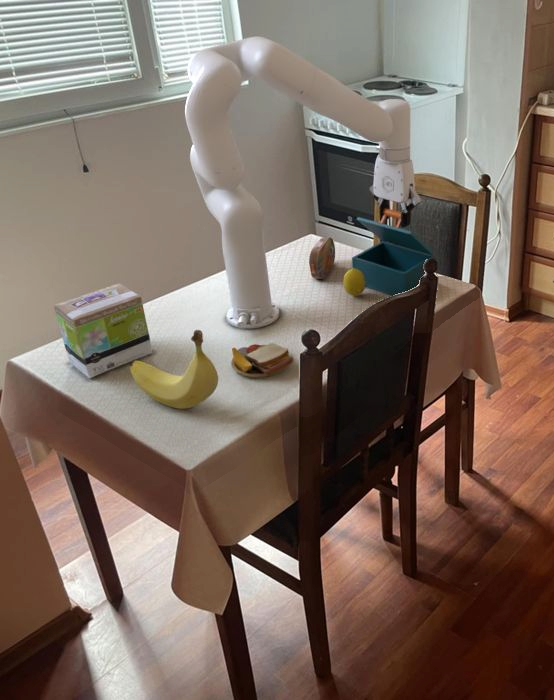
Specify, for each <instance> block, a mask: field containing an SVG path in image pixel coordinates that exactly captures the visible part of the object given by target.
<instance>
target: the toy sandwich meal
mask: <svg viewBox="0 0 554 700" xmlns="http://www.w3.org/2000/svg"><path fill="white" fill-rule="evenodd" d="M231 351H232V356H233V357H232V359H231V362H230V365H231V368H232V369H233V371H235V372H236V373H237V374H240V375H242V376H243V377H247V378H252V379H256V378H257V379H258V378H259V379H260V378H267V377H270V376H273V375H275V374H277V373H279V372H280V371H282V370H284V369H285V368H287V367H288V366H290V365H292V363H294V358H293V356H290V352H289V351H290V350H289V348H287V347H284V346H280V345H278V344H276V343H274V342H271V343H268V344H258V343H257V344H256V343H255V344H251V345H249V346H248V347H247V346H242V347H239V348H238V349H237V348H235V347H232V348H231Z"/></svg>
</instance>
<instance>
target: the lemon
mask: <svg viewBox="0 0 554 700" xmlns="http://www.w3.org/2000/svg"><path fill="white" fill-rule="evenodd" d="M342 281H343V288H344V290H345V292H346V293H347V294H348V295H350V296H353V297H354V298H356V297H357V296H361V294H362V293H363V292H364V290H365V288H366V287H365V278H364V275H363V273H362V272H361V271H359V270H358V269H355V268H351V269H348V270H347V271H346V273H345V274H344V276H343V280H342Z"/></svg>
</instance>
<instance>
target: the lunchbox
mask: <svg viewBox="0 0 554 700" xmlns="http://www.w3.org/2000/svg"><path fill="white" fill-rule="evenodd" d="M429 258H432V259H434V260H435V256H434V255H429V254H426V253H422V252H419V251H415V250H412V249H408V248H405V247H402V246H398V245H395V244H391V243H388V242H384V241H382V240H381V241H379V242H378V243H376V244H374V245H373V246H371V247H369V248H367V249H365V250H363V251H362V252H360V253H357V254H356V255H354V256H352V257H351V265H352V268H355V269H358V270H359V271H361V272H362V273H363V275H364V278H365V288H368V289H371V290H374V291H377V292H380V293H384V294H386V295H390V296H392V295H395V294H398V293H402V292H405V291H408V290H410V289H412V288H414V287H416V286H417V285H418V284H419V280H420V278H421V277H422V276H423V275H424V274H425V272H424V269H423V264H424V262H425V260H426V259H429ZM352 268H351V269H352Z"/></svg>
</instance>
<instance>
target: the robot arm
mask: <svg viewBox="0 0 554 700" xmlns="http://www.w3.org/2000/svg"><path fill="white" fill-rule="evenodd" d="M187 74H188V77H189V79H190V81H191V83H192V86H191V88H190V90H189V92H188V95H187V98H186V102H185V109H184V114H185V115H184V116H185V123H186V126H187V129H188V132H189V135H190V139H191V143H192V146H191V149H190V153H189V161H190V165H191V169H192V172H193V174H194V177H195V180H196V183H197V184H198V188H199V190H200V193H201V195H202V197H203V200H204V203H205V205H206V207H207V209H208V211H209V212H210V213H211V215H212V216H213V217H214V219H216V221H217V222H218V224H219V225H220V229H221V247H222V254H223V261H224V266H225V267H224V268H225V274H226V280H227V287H228V292H229V298H230V304H231V307H230V308H229V309H228V311H227V312H226V320H227V322H228V324H230V325H231V326H233V327H235V328H239V329H241V330H242V329H258V328H259V329H260V328H262V327H265V326H269V325H271V324H273V323H274V322H275V321H276V320H277V319H278V318H279V316H280V308H279V307H278V306H277V304H275V303H273V302H272V294H271V288H270V286H271V285H270V279H269V271H268V263H267V254H266V247H265V217H264V216H265V215H264V211H263V208H262V206H261V204H260V203H259V202H258V200H257V199H256V197H254V196H253V195H252V194H251V192H249V191H248V190H246V189H245V188H244V186H243V183H242V182H243V179H244V176H245V166H244V161H243V159H242V156H241V154H240V151H239V148H238V145H237V142H236V140H235V137H234V134H233V131H232V127H231V124H230V118H229V112H230V107H231V105H232V103H233V102H234V100H235V98H236V97H237V96H238V94H239V92H240V91H241V88H242V84H243V83H244V82H248V81H250V80H253V79H257V80H258V81H259V82H262V84H265V85H267V86H268V87H270V88H272V89H273V90H275V91H277V92H279V93H280V94H282V95H284V96H286V97H288V98H290V99H291V100H293V101H294V102H296V103H298V104H299V105H301V106H303V107H304V108H307V109H308V110H311V111H312V112H314V113H316V114H318V115H320V116H323V117H325V118H326V119H330V120H332V121H334V122H336V123H338V124H340V125H341V126H344V127H345V128H347V129H348V130H350V131H351V132H352V133H354V134H356V135H358V136H360V137H362V138H363V139H365V140H368V142H371V143H378V144H377V145H376V151H378V156H377V157H376V159H375V164H374V172H373V184H372V185H371V186H369V191H370V193H371V195H373V198H374V200H375V201H376V205H377V206H378V209H379V213H378V214H379V222H381V220H382V217H383V215H384V214H383V211H384V209H385V208H387V209H390V204H389V203H388V201H390V202H394V203H399V204H400V207H401V210H402V211H401V212H402V213H401V226H400V228H401V229H403V228H404V229H405V228H406V227H409V226H410V225H411V222H412V211H413V210H414V209H415V208H416V207H417V206H418V205H419V204H420V203H421V202H422V199H421V197H420V195H419V194H418V193H417V191H416V182H415V171H414V164H413V160H412V159H411V105H410V103H409V102H408V101H407V100H404V99H399V98H389V99H385V100H382V101H381V100H379V101H378V100H377V101H376V100H370V99H368V98H366V97H364V96H362V94H359V93H358V92H356V91H355V90H352V89H351V88H350V87H348V86H346V85H345V84H343V83H342V82H341V81H339V80H338V79H337V78H335V77H333V76H332V75H330V74H329V73H327V72H326V71H324V70H322V69H320V68H319V67H317V66H316V65H314V64H313V63H311V62H310V61H307V60H306V59H304V58H303V57H301V56H300V55H298V54H296V53H295V52H293V51H291V50H290V49H288V48H287V47H285V46H283V45H282V44H280V43H278V42H276V41H274V40H271V39H268V38H267V37H263V36H250V37H246V38H242V39H238V40H234V41H230V42H227V43H221V44H218V45H215V46H210V47H207V48H203V49H200V50H198V51H197V52H195V53H194V54H193V55H192V57H191V58H190V59H189V62H188V64H187ZM389 219H390V217H389V216H387V217H386V220H385V221H387V220H389Z"/></svg>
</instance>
